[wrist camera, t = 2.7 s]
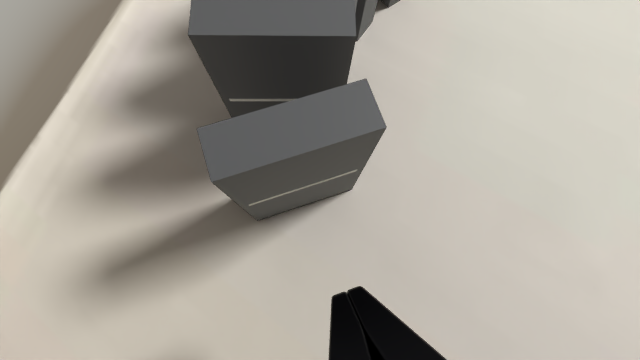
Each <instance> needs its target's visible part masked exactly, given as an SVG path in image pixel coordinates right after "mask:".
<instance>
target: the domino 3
mask: <svg viewBox="0 0 640 360" xmlns="http://www.w3.org/2000/svg"><path fill="white" fill-rule="evenodd" d="M381 1H382V2H383V3H384V4H385V5H386V6H387V7H388V8H389V7H390V6H392V5H393V4H395V3H397V2H398V1H400V0H381Z"/></svg>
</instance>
